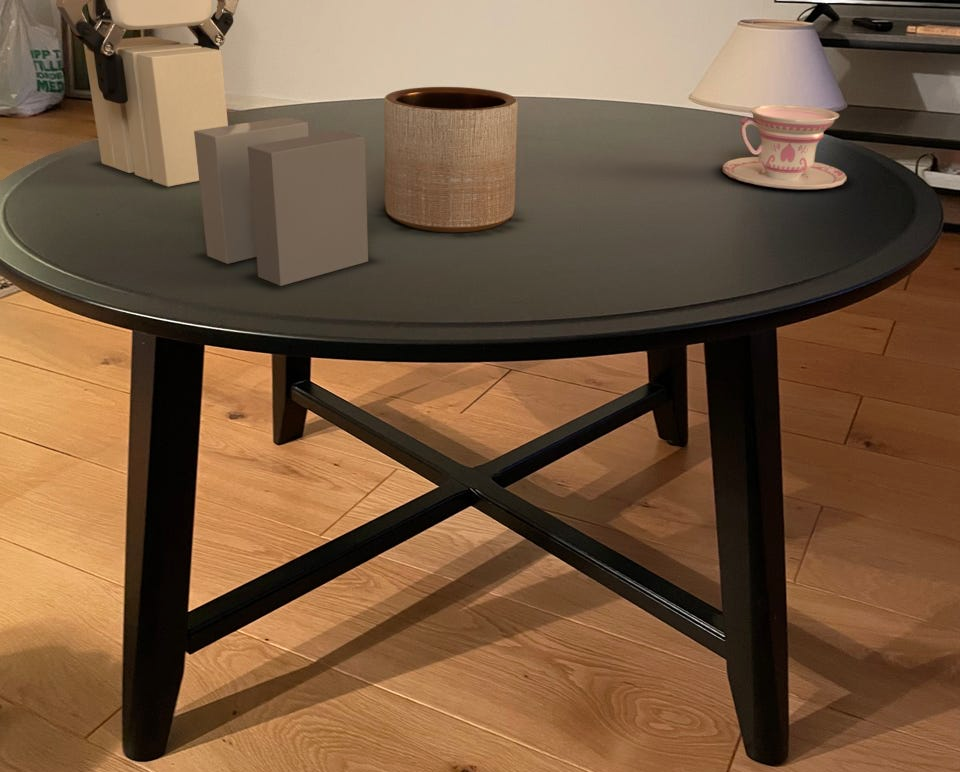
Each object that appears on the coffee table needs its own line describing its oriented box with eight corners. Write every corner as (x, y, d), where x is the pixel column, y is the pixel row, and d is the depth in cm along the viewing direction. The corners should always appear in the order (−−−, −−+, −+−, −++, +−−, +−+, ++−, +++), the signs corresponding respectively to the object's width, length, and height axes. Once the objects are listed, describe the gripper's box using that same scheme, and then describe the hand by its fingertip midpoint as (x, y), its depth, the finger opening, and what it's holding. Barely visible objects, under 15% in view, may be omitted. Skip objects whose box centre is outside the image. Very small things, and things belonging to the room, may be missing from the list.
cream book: (148, 180, 94) (132, 52, 89) (134, 175, 96) (117, 49, 91) (213, 168, 99) (201, 46, 94) (199, 163, 100) (186, 43, 95)
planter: (517, 236, 82) (522, 112, 77) (380, 233, 82) (378, 108, 77) (511, 200, 92) (516, 87, 87) (389, 197, 91) (387, 84, 87)
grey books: (280, 286, 71) (271, 152, 66) (206, 256, 76) (193, 130, 71) (368, 261, 76) (365, 136, 71) (293, 235, 81) (286, 116, 77)
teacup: (827, 164, 107) (839, 103, 104) (861, 194, 97) (875, 126, 94) (712, 160, 107) (720, 99, 104) (733, 190, 97) (743, 122, 94)
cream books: (167, 187, 92) (151, 57, 87) (101, 163, 99) (82, 41, 94) (232, 174, 97) (221, 50, 92) (165, 153, 104) (151, 36, 98)
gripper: (202, -118, 93) (220, 81, 102) (17, -124, 82) (54, 100, 91) (251, -116, 89) (266, 91, 97) (63, -122, 78) (97, 113, 86)
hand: (163, 95), depth 94 cm, fingers open, 9 cm apart
